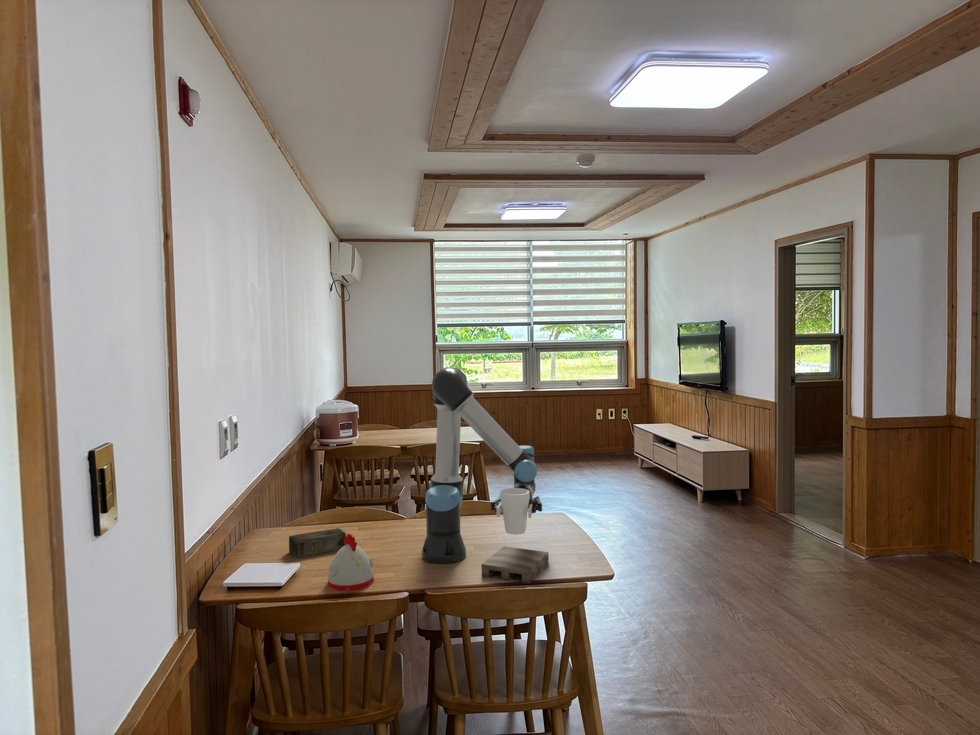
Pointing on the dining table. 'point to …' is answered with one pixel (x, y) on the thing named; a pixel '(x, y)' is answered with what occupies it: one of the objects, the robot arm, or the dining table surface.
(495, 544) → the dining table surface
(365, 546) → the dining table surface
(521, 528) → the foam cup
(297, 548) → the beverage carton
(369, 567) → the kitchen timer
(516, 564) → the miniature wooden pallet
